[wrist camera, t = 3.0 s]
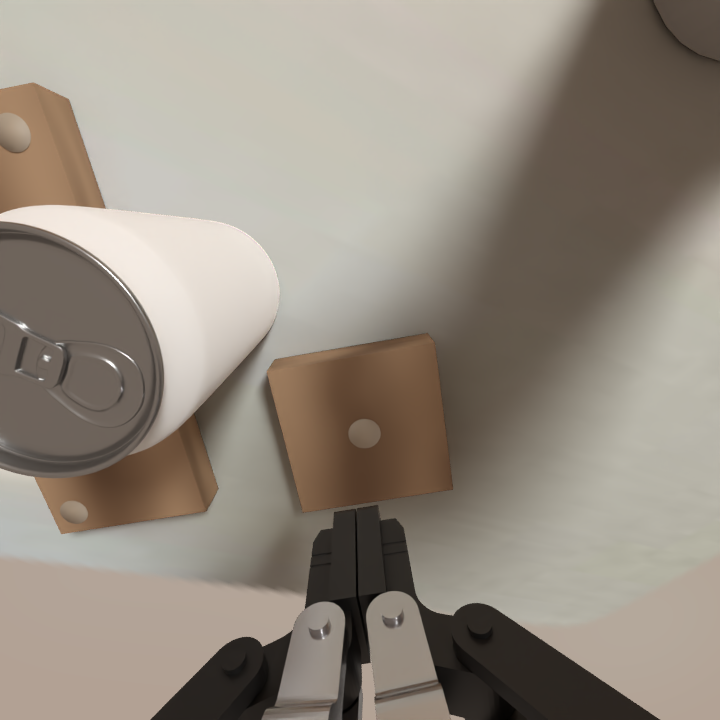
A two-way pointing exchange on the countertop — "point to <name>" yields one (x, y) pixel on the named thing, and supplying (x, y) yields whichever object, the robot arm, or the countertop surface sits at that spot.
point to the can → (118, 329)
